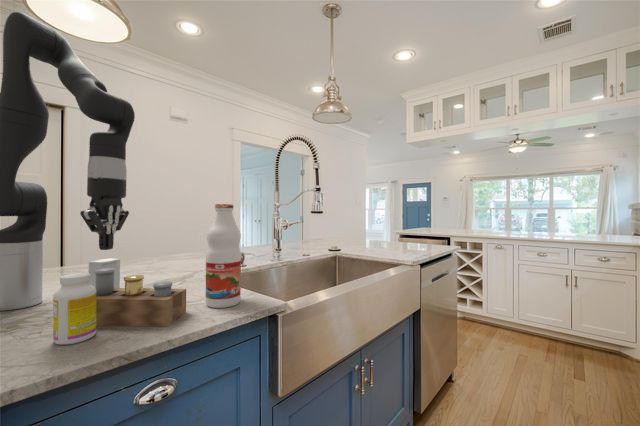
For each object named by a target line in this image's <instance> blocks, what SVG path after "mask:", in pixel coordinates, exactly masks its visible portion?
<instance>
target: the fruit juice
mask: <svg viewBox="0 0 640 426" xmlns="http://www.w3.org/2000/svg"><path fill="white" fill-rule="evenodd" d="M214 208H215V209H214V210H215V214H214V217H213V220H212V223H211V226H210V227H209V229H208V230H207V233H206V242H207V245H208V247H207V250H206V255H205V304H206V306H207V307H209V308H213V309H224V308H230V307H234V306H237V305H238V304H239V303H240V301H241V295H242V294H241V290H242V287H241V285H242V277H241V276H242V275H241V273H242V270H241V269H242V252H241V248H240V241H241V230H240V229H239V228H238V226H237V223H236V220H235V217H234V213H233V210H234V204H233V203H231V204H230V203H229V204H228V203H227V204H226V203H225V204H224V203H216V204H214Z"/></svg>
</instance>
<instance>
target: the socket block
mask: <svg viewBox="0 0 640 426" xmlns="http://www.w3.org/2000/svg"><path fill="white" fill-rule="evenodd" d="M186 313H187V288H171V295H169V296H167V297H154V287H152V288H143V294H141V295H139V296H125V287H120V288H114V293H113V294H111V295H108V296H96V327H97V326H99V327H100V326H101V327H102V326H103V327H106V326H107V327H108V326H110V327H112V326H115V327H168V326H170V325H171V324H173V322H175V321H177V320H178V319H179V318H180V317H182V316H183V315H184V314H186Z"/></svg>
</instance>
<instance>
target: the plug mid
mask: <svg viewBox="0 0 640 426" xmlns="http://www.w3.org/2000/svg"><path fill="white" fill-rule="evenodd" d="M144 278H145V276H144V275H143V274H132V275H126V276H124V277H123V281H124V288H125V296H139V295H141V294H143V287H144Z"/></svg>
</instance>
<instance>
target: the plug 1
mask: <svg viewBox="0 0 640 426" xmlns="http://www.w3.org/2000/svg"><path fill="white" fill-rule="evenodd" d="M114 272H115V268H105V269H98V270H95V274H96V296H108V295H111V294H113V293H114Z"/></svg>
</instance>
